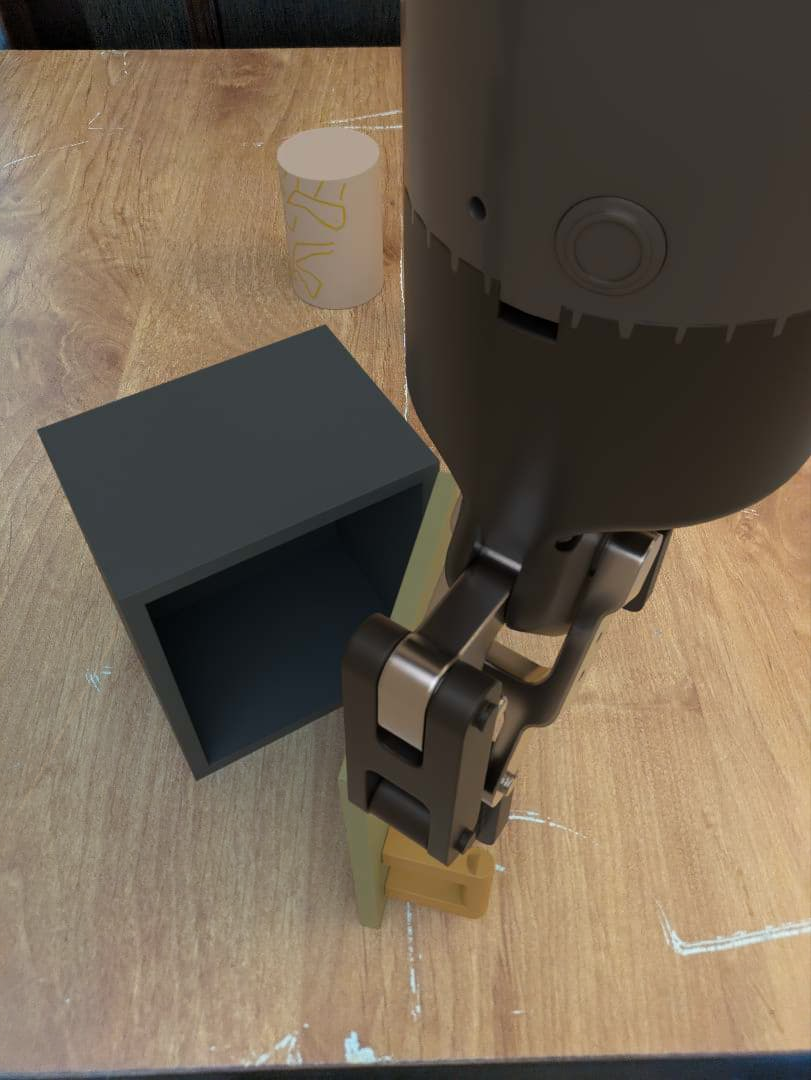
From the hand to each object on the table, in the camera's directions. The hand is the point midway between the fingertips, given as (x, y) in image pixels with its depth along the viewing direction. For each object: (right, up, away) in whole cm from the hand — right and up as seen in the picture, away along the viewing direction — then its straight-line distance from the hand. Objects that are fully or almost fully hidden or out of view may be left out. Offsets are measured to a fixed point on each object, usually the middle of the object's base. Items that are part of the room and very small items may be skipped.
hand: (542, 695), depth 26 cm
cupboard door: (-1, -10, +26) cm, 28 cm away
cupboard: (-12, -2, +33) cm, 35 cm away
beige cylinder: (-10, +27, +57) cm, 64 cm away
